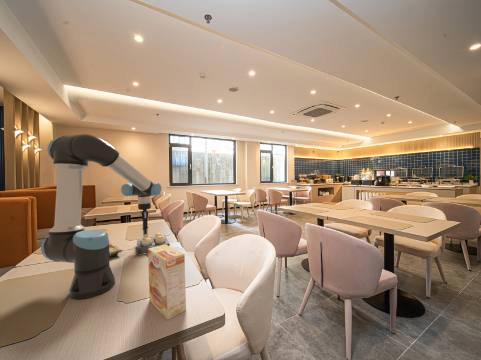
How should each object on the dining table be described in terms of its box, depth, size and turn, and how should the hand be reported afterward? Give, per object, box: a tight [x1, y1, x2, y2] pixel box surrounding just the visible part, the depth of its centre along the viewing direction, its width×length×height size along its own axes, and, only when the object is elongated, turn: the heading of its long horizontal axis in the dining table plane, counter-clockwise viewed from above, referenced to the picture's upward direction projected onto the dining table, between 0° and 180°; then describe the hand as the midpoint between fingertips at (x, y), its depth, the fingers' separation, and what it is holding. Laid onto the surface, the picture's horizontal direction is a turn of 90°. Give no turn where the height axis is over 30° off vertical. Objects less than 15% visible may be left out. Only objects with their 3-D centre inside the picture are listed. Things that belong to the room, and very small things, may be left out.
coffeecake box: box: [147, 244, 187, 321], centre depth 71 cm, size 15×7×20 cm, turn 45°
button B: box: [141, 237, 152, 247], centre depth 125 cm, size 5×5×4 cm
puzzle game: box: [109, 242, 123, 258], centre depth 120 cm, size 12×5×20 cm
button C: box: [154, 232, 164, 241], centre depth 136 cm, size 5×5×4 cm
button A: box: [156, 235, 164, 245], centre depth 129 cm, size 5×5×4 cm
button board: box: [136, 235, 171, 256], centre depth 131 cm, size 18×18×4 cm
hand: (145, 238), depth 132 cm, fingers closed
